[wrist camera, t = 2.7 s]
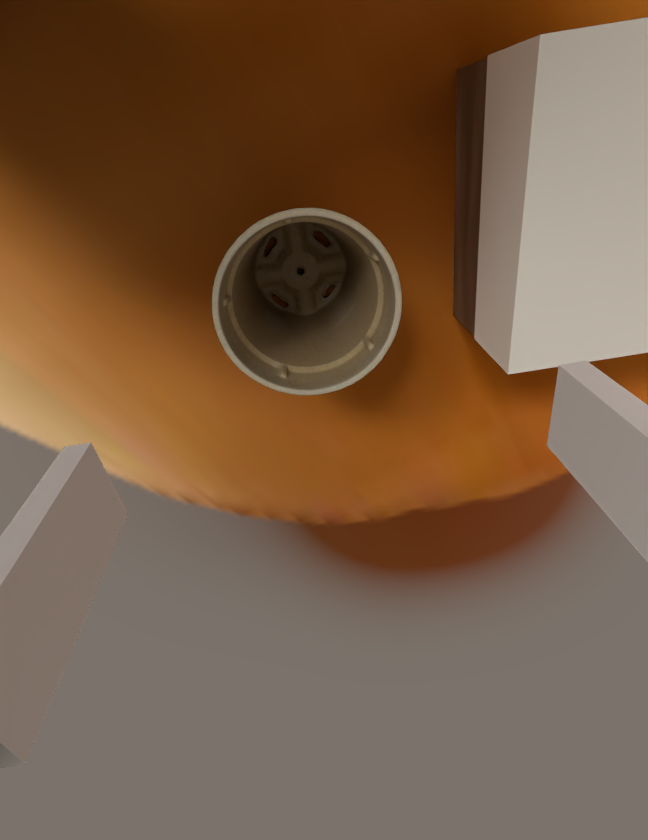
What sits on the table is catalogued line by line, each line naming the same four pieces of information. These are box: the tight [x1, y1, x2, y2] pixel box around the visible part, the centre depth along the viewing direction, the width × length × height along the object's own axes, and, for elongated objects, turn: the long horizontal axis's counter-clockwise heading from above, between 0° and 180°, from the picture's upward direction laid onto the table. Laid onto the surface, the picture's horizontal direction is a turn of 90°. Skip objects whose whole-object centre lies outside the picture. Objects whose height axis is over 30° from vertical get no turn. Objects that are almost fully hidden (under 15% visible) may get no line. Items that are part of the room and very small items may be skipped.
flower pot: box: [212, 208, 402, 395], centre depth 26 cm, size 9×9×9 cm
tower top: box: [474, 17, 648, 374], centre depth 22 cm, size 14×14×5 cm
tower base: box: [453, 59, 487, 336], centre depth 27 cm, size 14×14×5 cm
